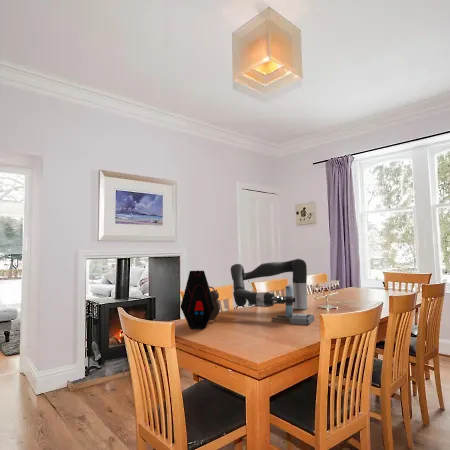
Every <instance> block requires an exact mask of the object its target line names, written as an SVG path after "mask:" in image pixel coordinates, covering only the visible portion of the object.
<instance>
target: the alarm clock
mask: <svg viewBox="0 0 450 450" xmlns="http://www.w3.org/2000/svg"><path fill="white" fill-rule="evenodd" d="M209 288H210V289H212V290H210V291H211V295H212V298H213V301H214V304H215V309H214V311H213V313H212V315H211V317H210V320H209V322H210V321H213V323H215V322H217V316H219V313H220V310H221V304H220V301H219V297H220V295H219V292H218V290H217V289H215V288H214V286H210V285H209Z"/></svg>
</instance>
